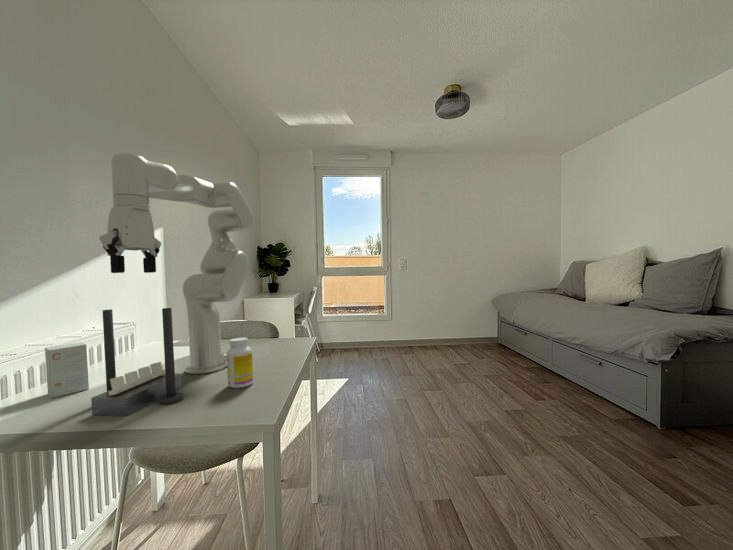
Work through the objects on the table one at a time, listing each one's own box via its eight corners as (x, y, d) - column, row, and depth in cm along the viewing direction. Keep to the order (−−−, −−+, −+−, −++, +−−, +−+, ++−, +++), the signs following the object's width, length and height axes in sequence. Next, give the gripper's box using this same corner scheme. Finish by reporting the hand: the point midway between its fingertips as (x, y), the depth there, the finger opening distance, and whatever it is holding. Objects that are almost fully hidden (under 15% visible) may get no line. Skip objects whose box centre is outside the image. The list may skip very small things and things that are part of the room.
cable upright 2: (181, 395, 88) (176, 306, 87) (184, 400, 84) (179, 308, 83) (158, 400, 85) (154, 308, 84) (160, 406, 81) (155, 310, 80)
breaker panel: (153, 387, 95) (152, 373, 95) (181, 387, 94) (181, 373, 94) (92, 415, 77) (91, 397, 77) (126, 416, 76) (125, 398, 76)
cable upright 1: (123, 394, 90) (119, 308, 90) (124, 399, 86) (119, 309, 86) (100, 399, 87) (95, 310, 87) (99, 405, 83) (94, 311, 83)
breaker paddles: (160, 374, 93) (157, 362, 94) (167, 372, 93) (164, 360, 93) (107, 396, 78) (104, 381, 78) (116, 394, 77) (113, 379, 77)
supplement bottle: (258, 382, 96) (256, 337, 96) (240, 390, 90) (238, 342, 90) (241, 379, 99) (238, 336, 99) (222, 387, 93) (220, 341, 92)
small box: (84, 385, 100) (82, 341, 99) (89, 389, 95) (86, 344, 95) (46, 393, 93) (44, 347, 93) (50, 398, 89) (47, 350, 89)
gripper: (145, 211, 94) (148, 273, 94) (85, 198, 77) (89, 273, 77) (170, 210, 93) (172, 271, 93) (114, 196, 76) (117, 272, 76)
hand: (134, 272), depth 85 cm, fingers open, 9 cm apart
